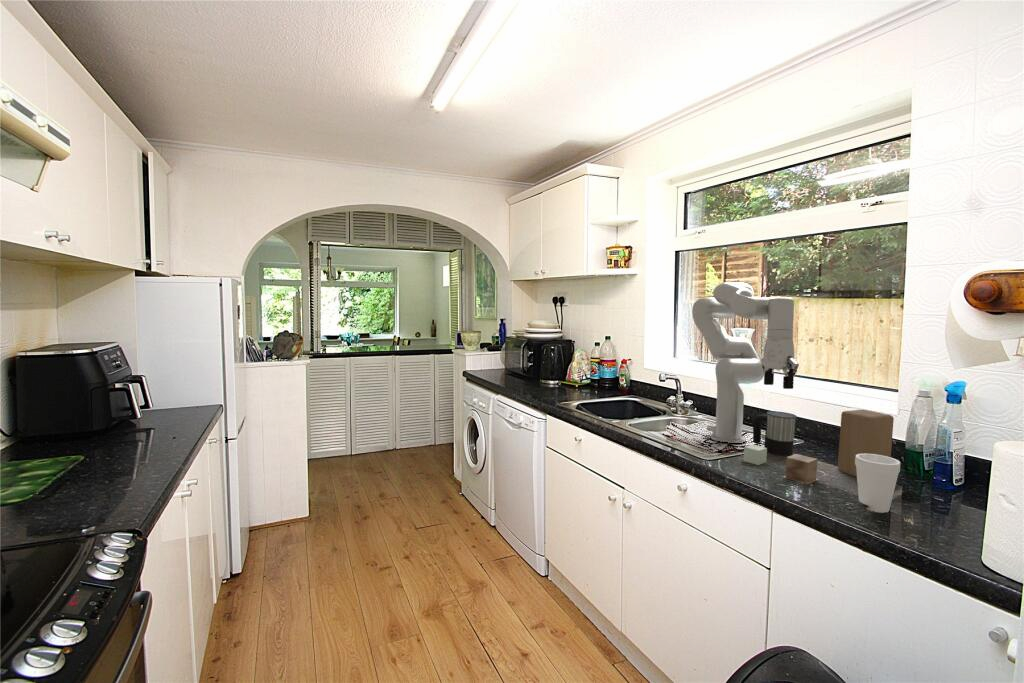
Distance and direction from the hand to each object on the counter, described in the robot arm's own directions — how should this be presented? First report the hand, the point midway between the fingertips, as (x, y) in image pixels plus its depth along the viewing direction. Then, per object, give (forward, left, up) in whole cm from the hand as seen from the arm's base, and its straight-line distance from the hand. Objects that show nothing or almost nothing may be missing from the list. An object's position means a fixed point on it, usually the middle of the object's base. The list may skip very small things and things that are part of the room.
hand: (778, 386), depth 169 cm
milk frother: (-4, +5, -26) cm, 26 cm away
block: (+23, +8, -26) cm, 36 cm away
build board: (+12, -11, -25) cm, 30 cm away
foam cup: (+34, -17, -26) cm, 46 cm away
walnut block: (+14, -13, -24) cm, 31 cm away
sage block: (-2, -9, -26) cm, 27 cm away
